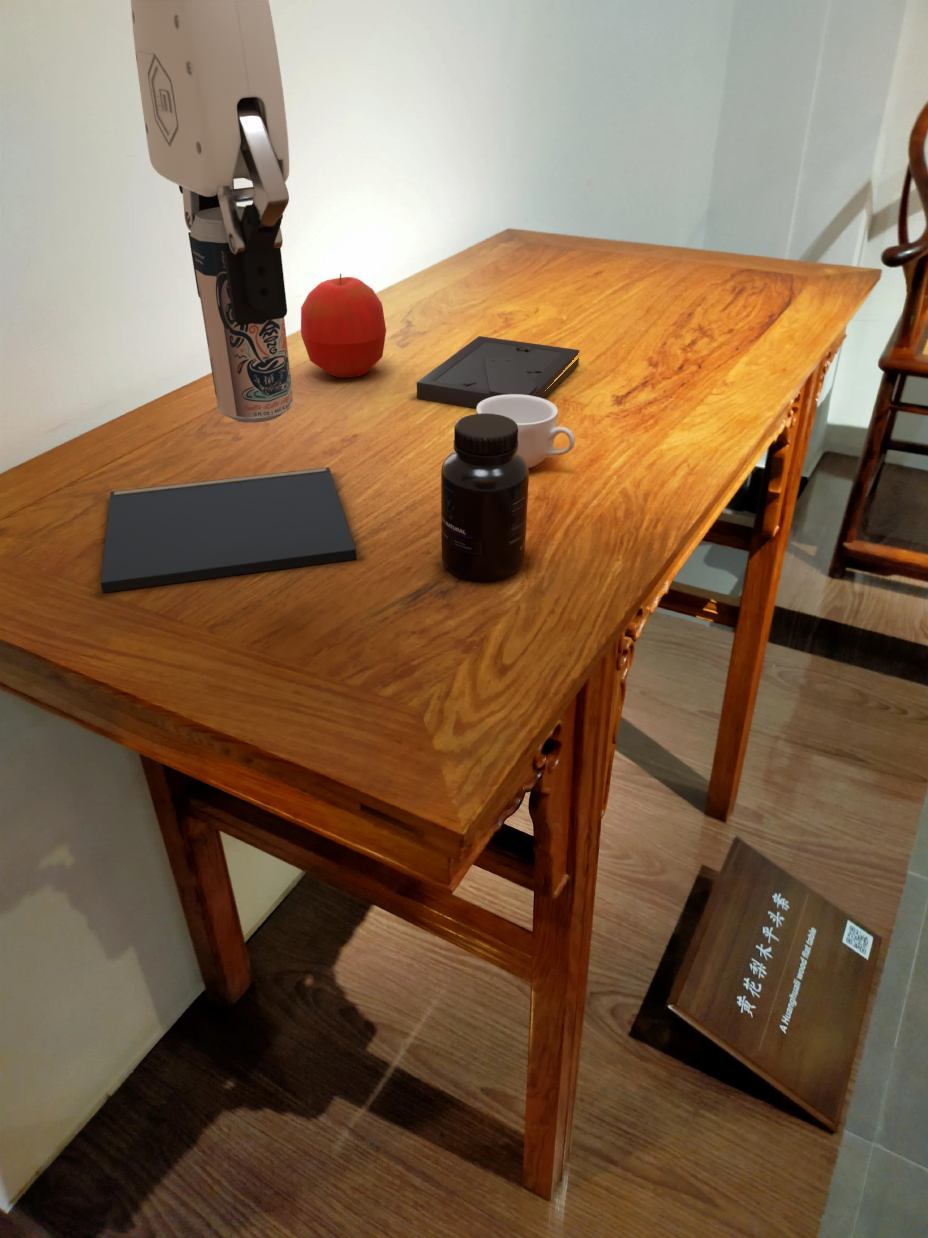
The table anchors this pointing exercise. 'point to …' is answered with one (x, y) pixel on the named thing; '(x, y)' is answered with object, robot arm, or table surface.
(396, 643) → the table surface
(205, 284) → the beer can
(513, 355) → the picture frame
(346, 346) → the apple
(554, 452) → the teacup
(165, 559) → the dark grey flat slab
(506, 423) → the supplement bottle
